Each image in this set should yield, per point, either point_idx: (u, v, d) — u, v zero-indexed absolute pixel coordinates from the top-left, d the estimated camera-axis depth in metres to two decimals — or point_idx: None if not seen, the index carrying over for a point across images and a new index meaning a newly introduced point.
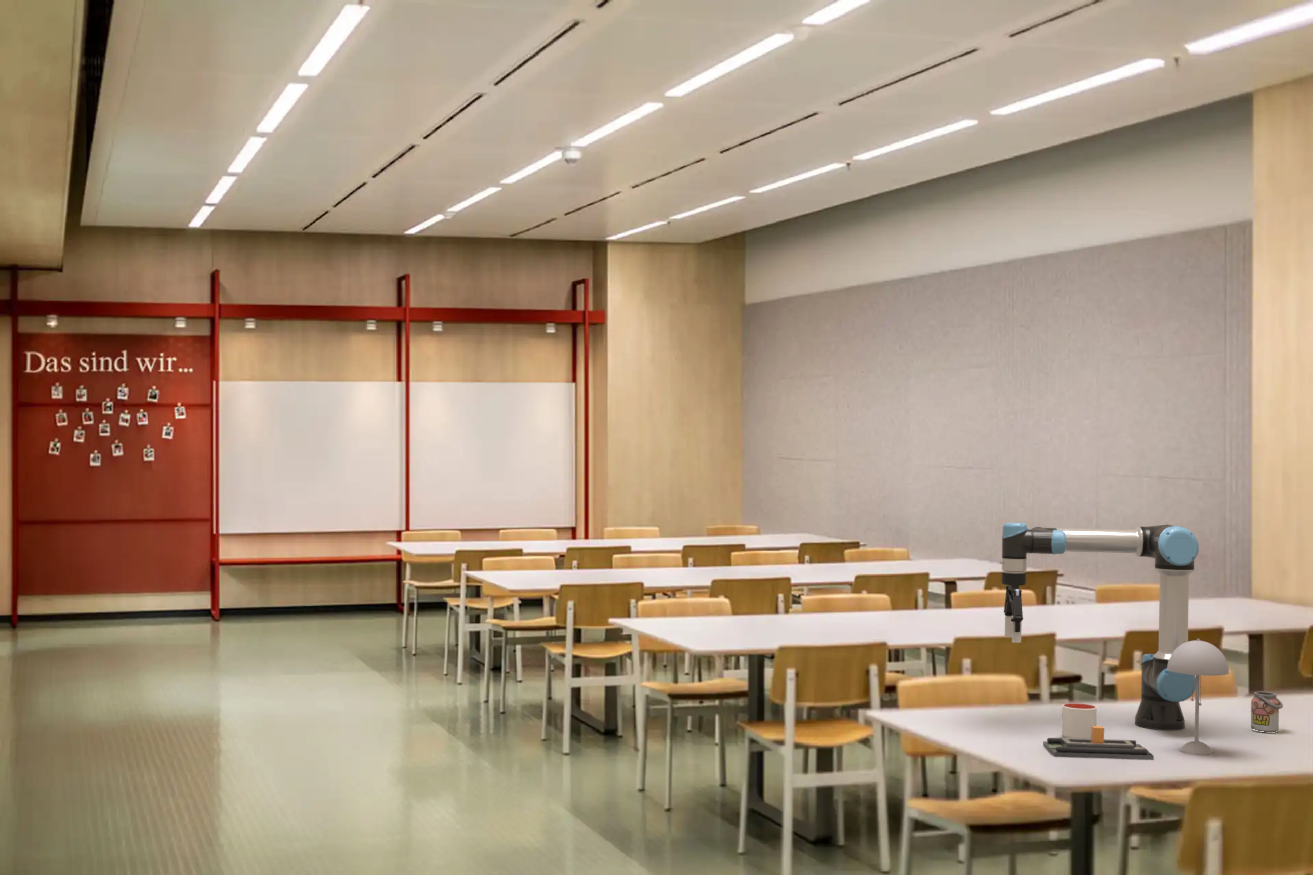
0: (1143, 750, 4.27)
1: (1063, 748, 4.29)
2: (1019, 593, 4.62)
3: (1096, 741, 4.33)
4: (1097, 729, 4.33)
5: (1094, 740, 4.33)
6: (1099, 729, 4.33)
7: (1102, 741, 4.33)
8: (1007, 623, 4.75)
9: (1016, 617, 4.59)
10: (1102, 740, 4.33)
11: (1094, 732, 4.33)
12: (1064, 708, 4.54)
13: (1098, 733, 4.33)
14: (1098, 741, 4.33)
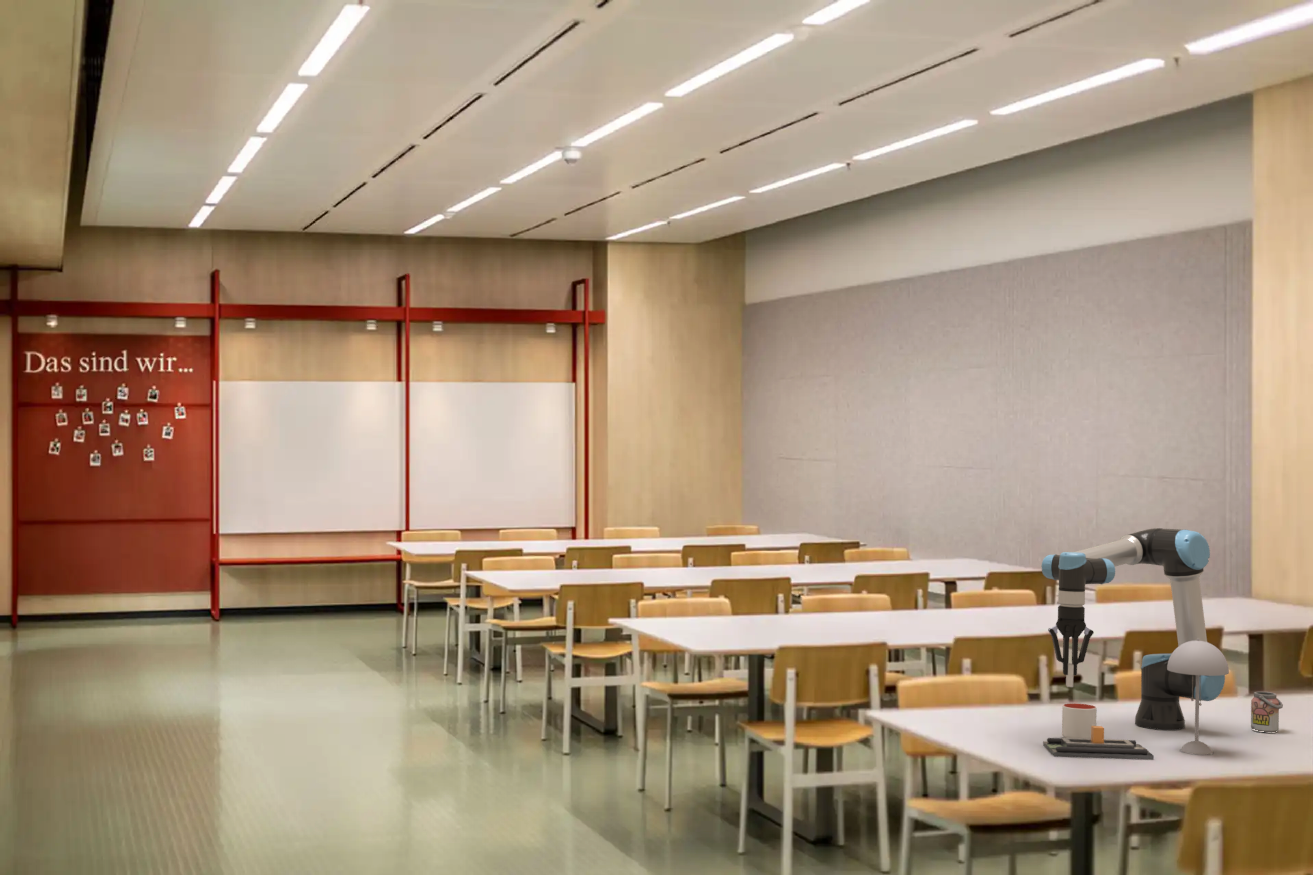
0: (1143, 750, 4.27)
1: (1063, 748, 4.29)
2: (1050, 633, 4.36)
3: (1096, 741, 4.33)
4: (1097, 729, 4.33)
5: (1094, 740, 4.33)
6: (1099, 729, 4.33)
7: (1102, 741, 4.33)
8: None
9: (1057, 657, 4.37)
10: (1102, 740, 4.33)
11: (1094, 732, 4.33)
12: (1064, 708, 4.54)
13: (1098, 733, 4.33)
14: (1098, 741, 4.33)
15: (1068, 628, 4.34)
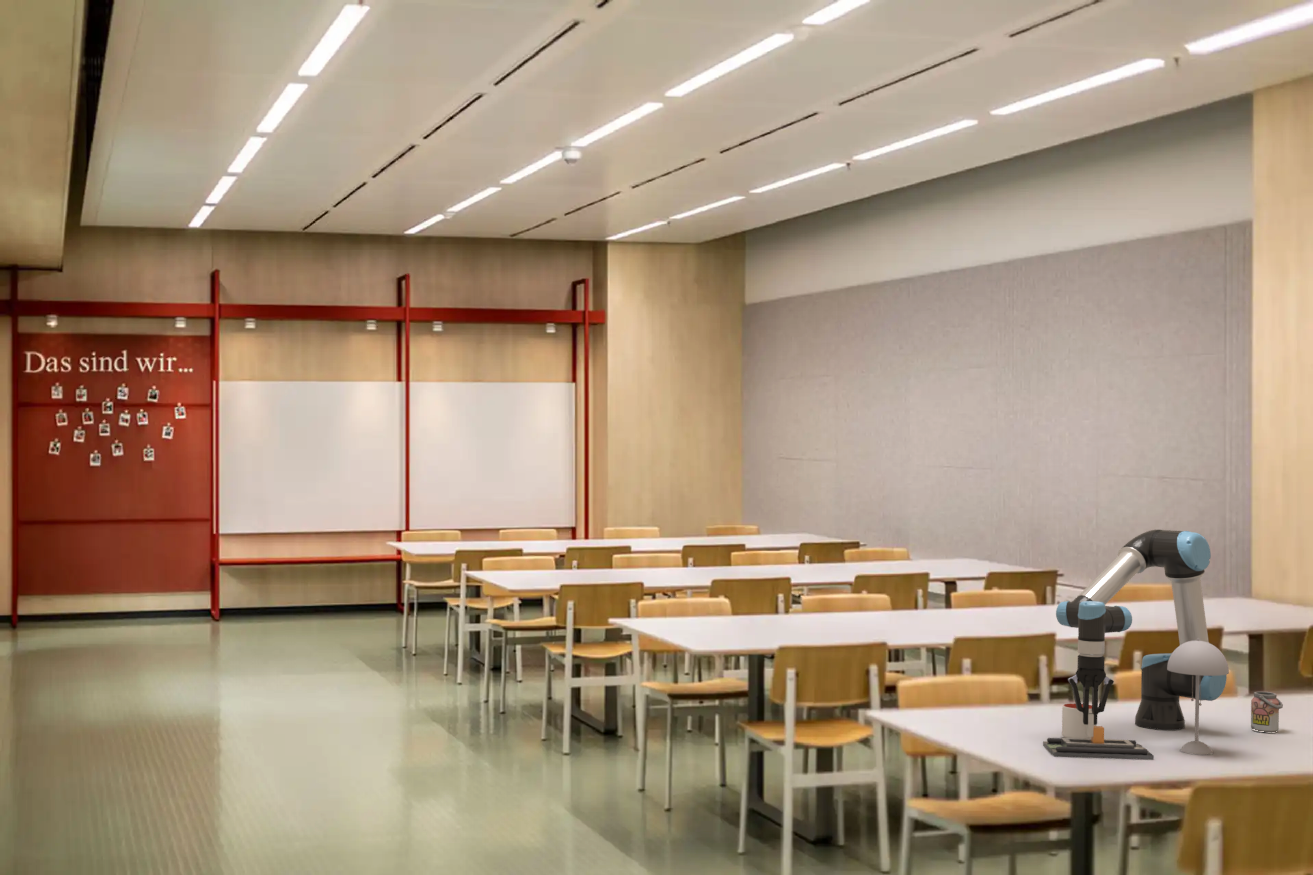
0: (1143, 750, 4.27)
1: (1063, 748, 4.29)
2: (1070, 683, 4.35)
3: (1096, 741, 4.33)
4: (1097, 729, 4.33)
5: (1094, 740, 4.33)
6: (1099, 729, 4.33)
7: (1102, 741, 4.33)
8: None
9: (1077, 707, 4.36)
10: (1102, 740, 4.33)
11: (1094, 732, 4.33)
12: (1064, 708, 4.54)
13: (1098, 733, 4.33)
14: (1098, 741, 4.33)
15: (1088, 678, 4.33)
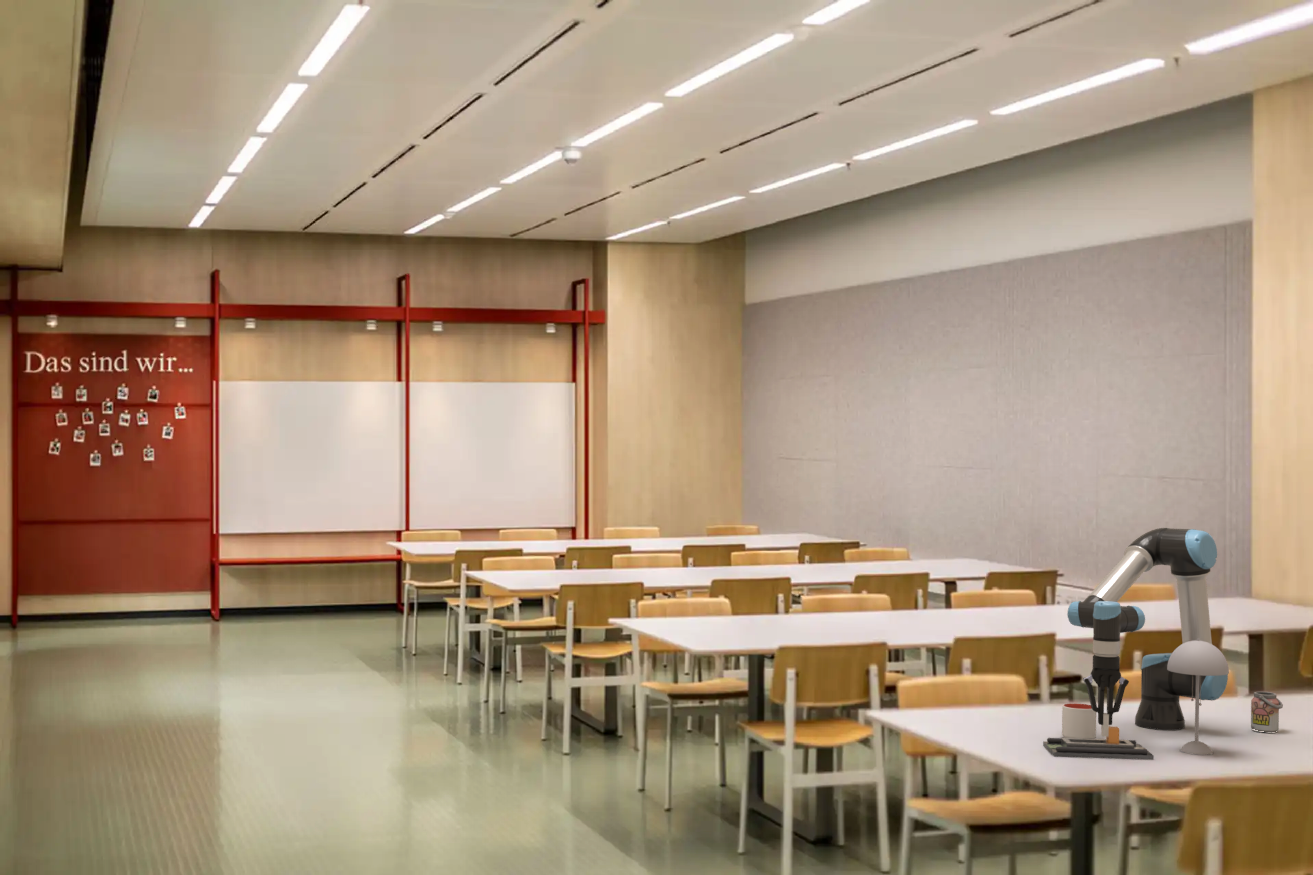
0: (1143, 750, 4.27)
1: (1063, 748, 4.29)
2: (1085, 683, 4.35)
3: (1111, 741, 4.33)
4: (1112, 729, 4.33)
5: (1109, 740, 4.33)
6: (1114, 729, 4.33)
7: (1117, 741, 4.33)
8: None
9: (1092, 707, 4.36)
10: (1117, 740, 4.33)
11: (1109, 732, 4.33)
12: (1064, 708, 4.54)
13: (1113, 733, 4.33)
14: (1113, 741, 4.33)
15: (1103, 678, 4.33)
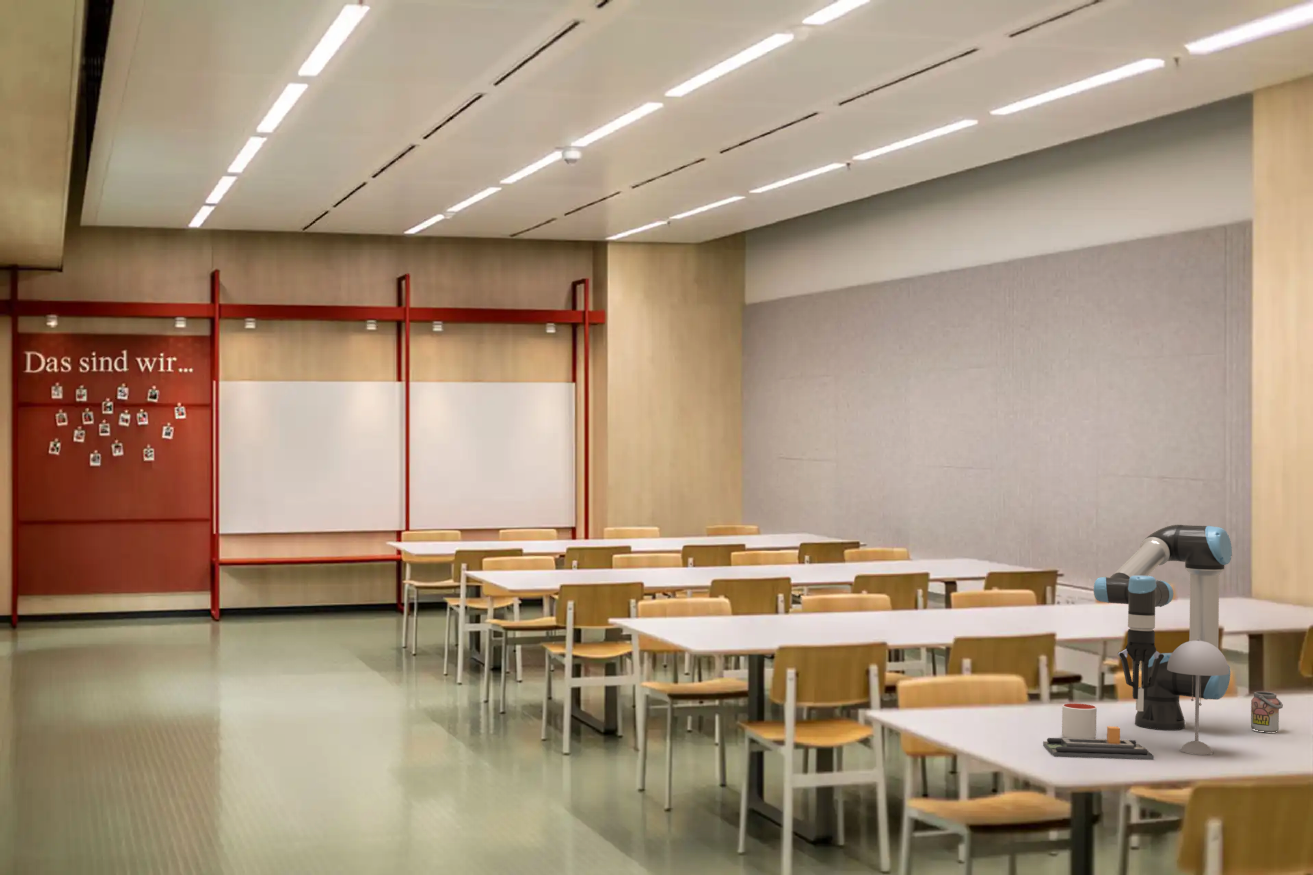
0: (1143, 750, 4.27)
1: (1063, 748, 4.29)
2: (1120, 657, 4.34)
3: (1112, 741, 4.33)
4: (1113, 729, 4.33)
5: (1110, 740, 4.33)
6: (1115, 729, 4.33)
7: (1118, 741, 4.33)
8: None
9: (1127, 681, 4.35)
10: (1118, 740, 4.33)
11: (1110, 732, 4.33)
12: (1064, 708, 4.54)
13: (1114, 733, 4.33)
14: (1114, 741, 4.33)
15: (1138, 652, 4.32)
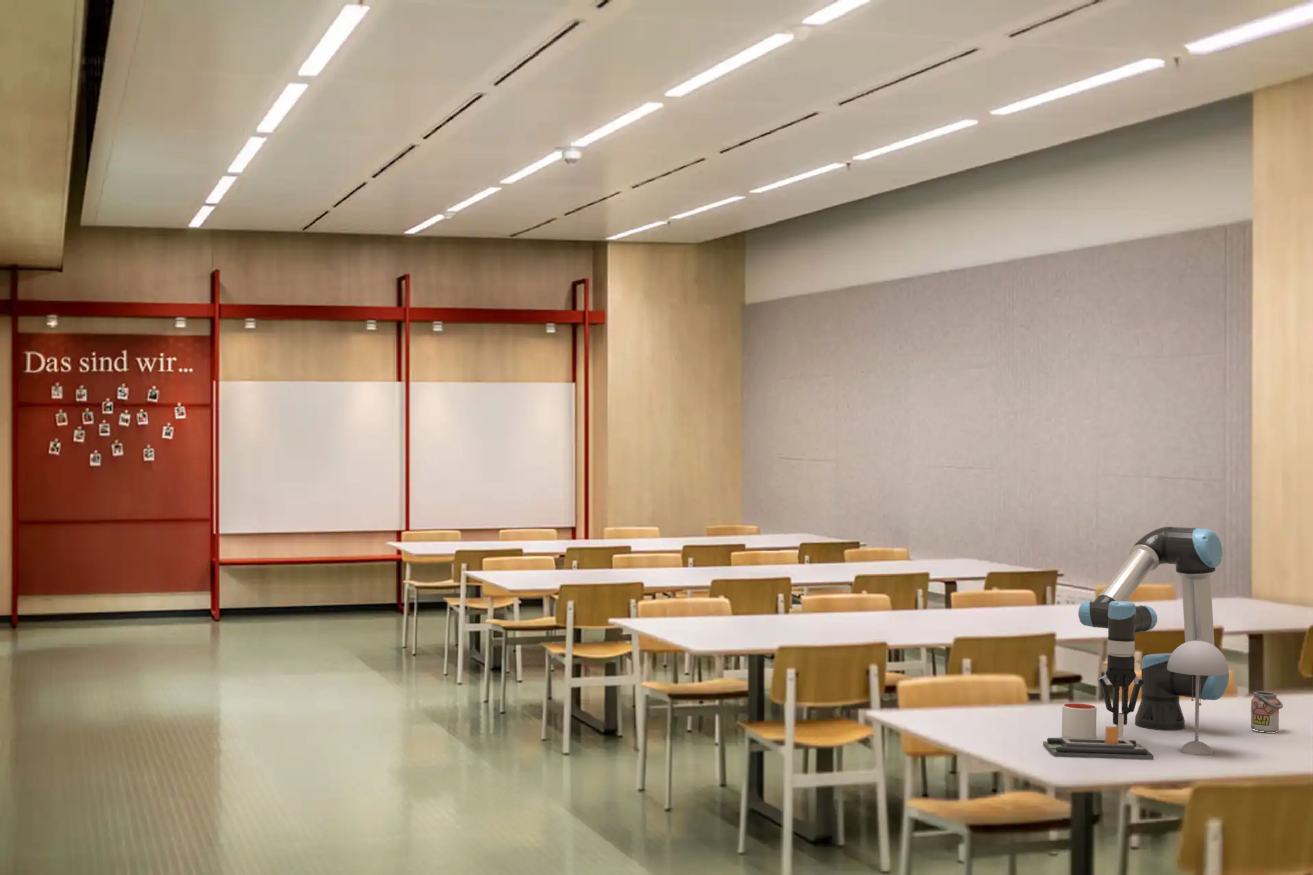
0: (1143, 750, 4.27)
1: (1063, 748, 4.29)
2: (1100, 683, 4.34)
3: (1110, 741, 4.33)
4: (1111, 729, 4.33)
5: (1108, 740, 4.33)
6: (1113, 729, 4.33)
7: (1116, 741, 4.33)
8: None
9: (1107, 707, 4.35)
10: (1116, 740, 4.33)
11: (1108, 732, 4.33)
12: (1064, 708, 4.54)
13: (1112, 733, 4.33)
14: (1112, 741, 4.33)
15: (1118, 678, 4.33)
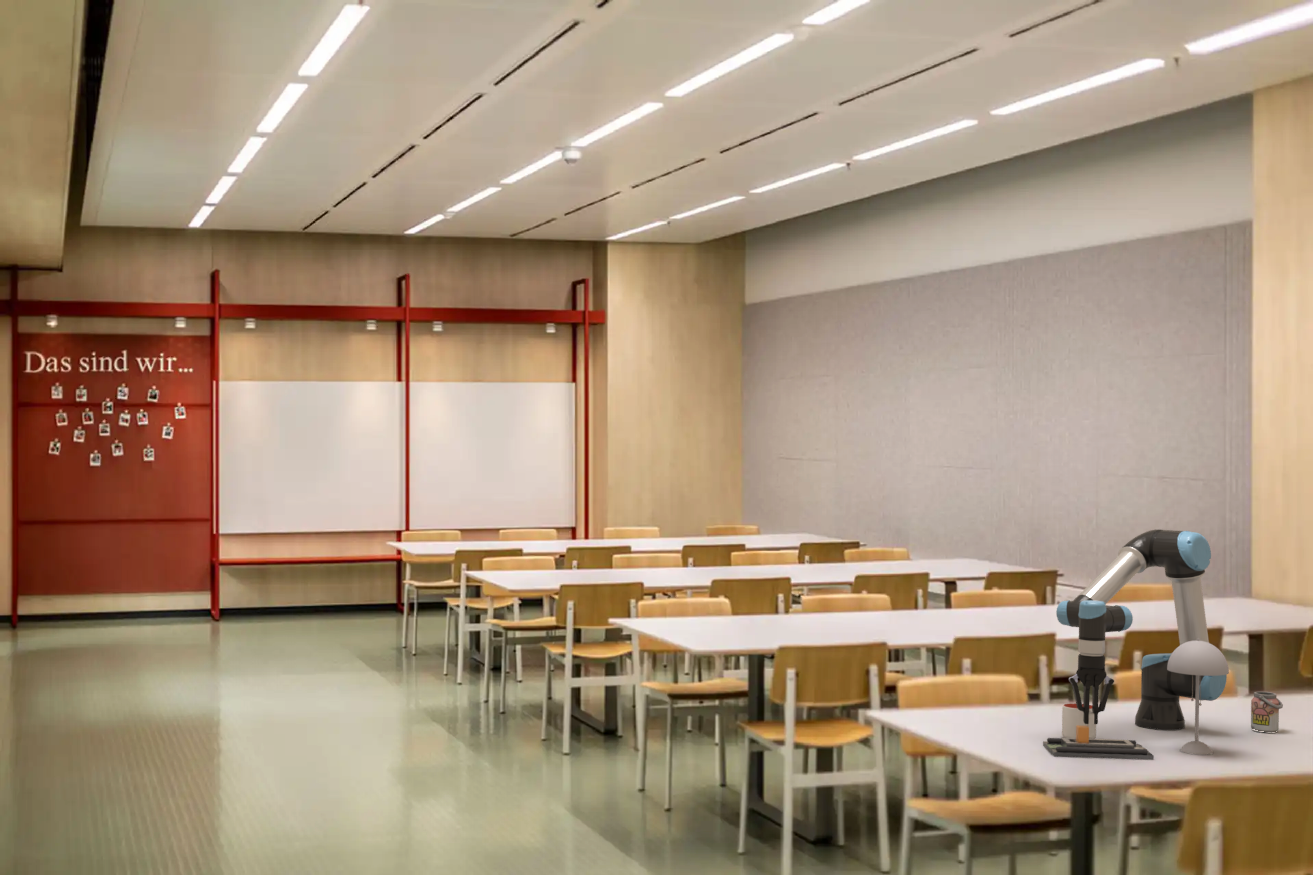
0: (1143, 750, 4.27)
1: (1063, 748, 4.29)
2: (1071, 682, 4.35)
3: (1081, 741, 4.34)
4: (1082, 729, 4.34)
5: (1079, 740, 4.34)
6: (1084, 729, 4.34)
7: (1087, 741, 4.34)
8: None
9: (1077, 706, 4.36)
10: (1087, 740, 4.34)
11: (1079, 732, 4.34)
12: (1064, 708, 4.54)
13: (1083, 733, 4.34)
14: (1083, 741, 4.34)
15: (1089, 677, 4.33)
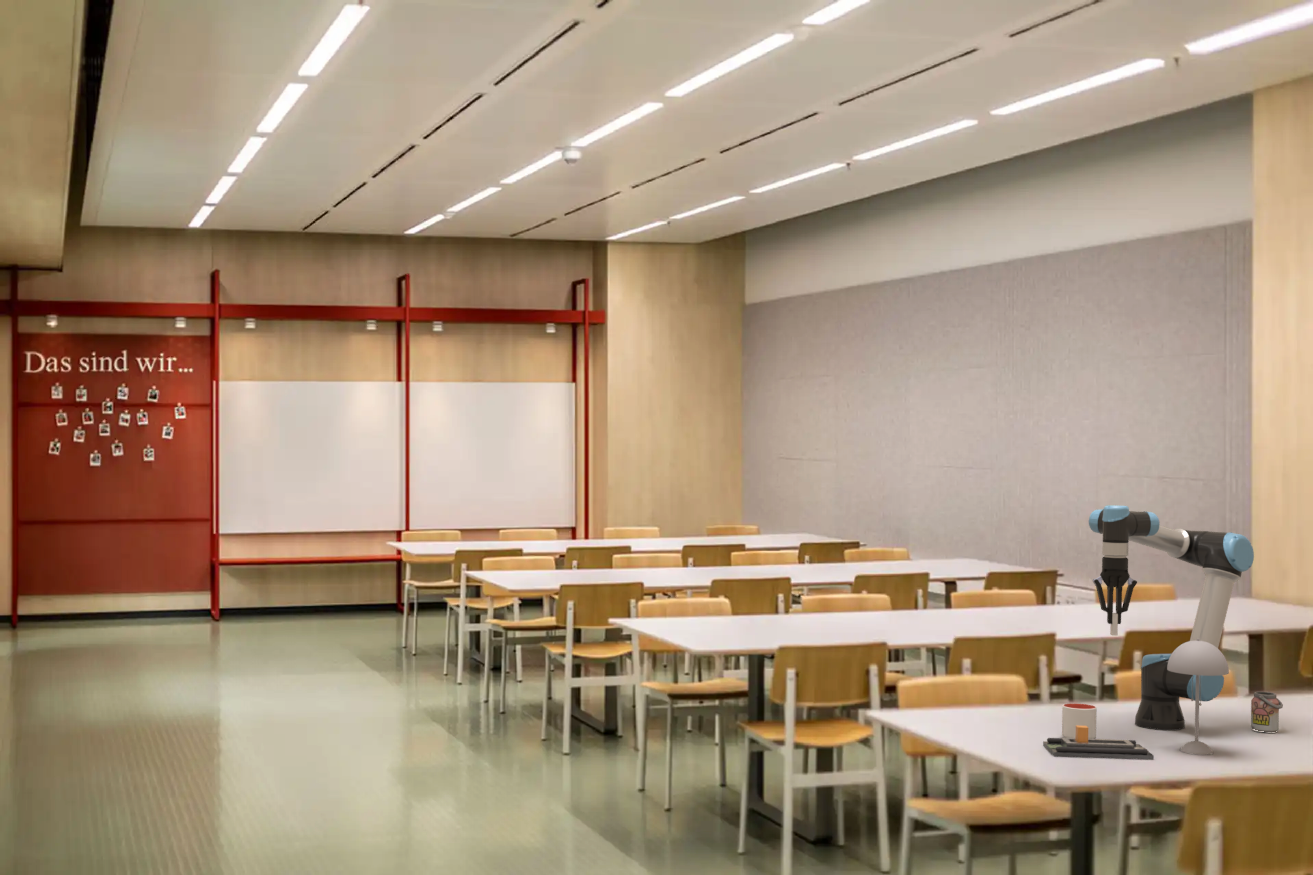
0: (1143, 750, 4.27)
1: (1063, 748, 4.29)
2: (1095, 584, 4.50)
3: (1080, 741, 4.34)
4: (1081, 729, 4.34)
5: (1078, 740, 4.34)
6: (1083, 729, 4.34)
7: (1086, 741, 4.34)
8: None
9: (1101, 607, 4.51)
10: (1086, 740, 4.34)
11: (1078, 732, 4.34)
12: (1064, 708, 4.54)
13: (1082, 733, 4.34)
14: (1082, 741, 4.34)
15: (1112, 578, 4.49)
